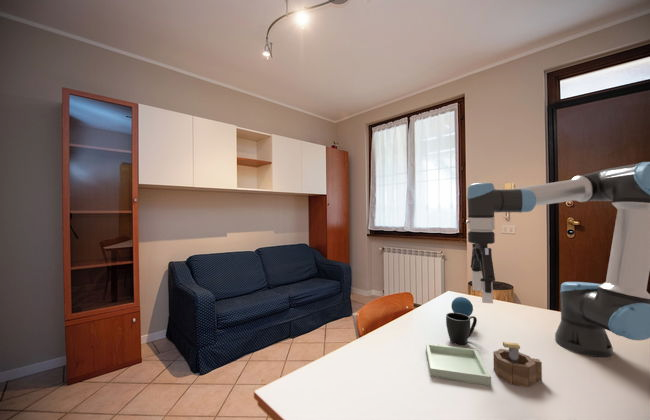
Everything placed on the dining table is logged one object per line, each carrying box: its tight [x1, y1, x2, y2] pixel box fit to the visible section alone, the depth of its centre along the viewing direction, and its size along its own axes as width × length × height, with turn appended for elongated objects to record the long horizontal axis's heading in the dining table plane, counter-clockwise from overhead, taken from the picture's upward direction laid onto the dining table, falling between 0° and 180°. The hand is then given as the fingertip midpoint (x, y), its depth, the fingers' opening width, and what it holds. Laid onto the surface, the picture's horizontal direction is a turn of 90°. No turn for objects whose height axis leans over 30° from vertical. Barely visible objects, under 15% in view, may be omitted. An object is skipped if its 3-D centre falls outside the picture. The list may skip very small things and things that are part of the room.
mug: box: [445, 312, 478, 346], centre depth 103 cm, size 8×12×10 cm
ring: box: [493, 348, 543, 388], centre depth 81 cm, size 12×10×6 cm
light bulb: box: [451, 296, 474, 316], centre depth 118 cm, size 8×8×12 cm
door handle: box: [502, 341, 521, 364], centre depth 81 cm, size 5×5×10 cm
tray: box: [425, 343, 492, 387], centre depth 86 cm, size 16×16×2 cm
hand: (481, 296), depth 88 cm, fingers open, 13 cm apart
